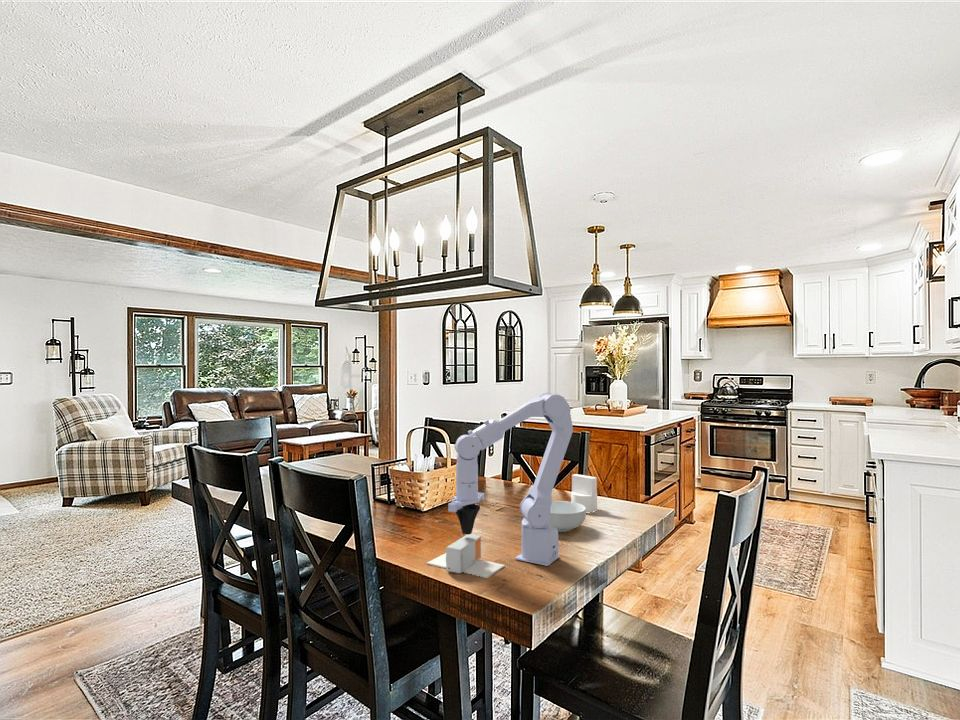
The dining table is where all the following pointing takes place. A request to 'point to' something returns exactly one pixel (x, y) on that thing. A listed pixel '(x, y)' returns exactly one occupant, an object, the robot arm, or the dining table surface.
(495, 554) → the dining table surface
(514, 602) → the dining table surface
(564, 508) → the cereal bowl
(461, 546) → the skincare box
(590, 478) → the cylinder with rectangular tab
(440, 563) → the white rectangular slab
